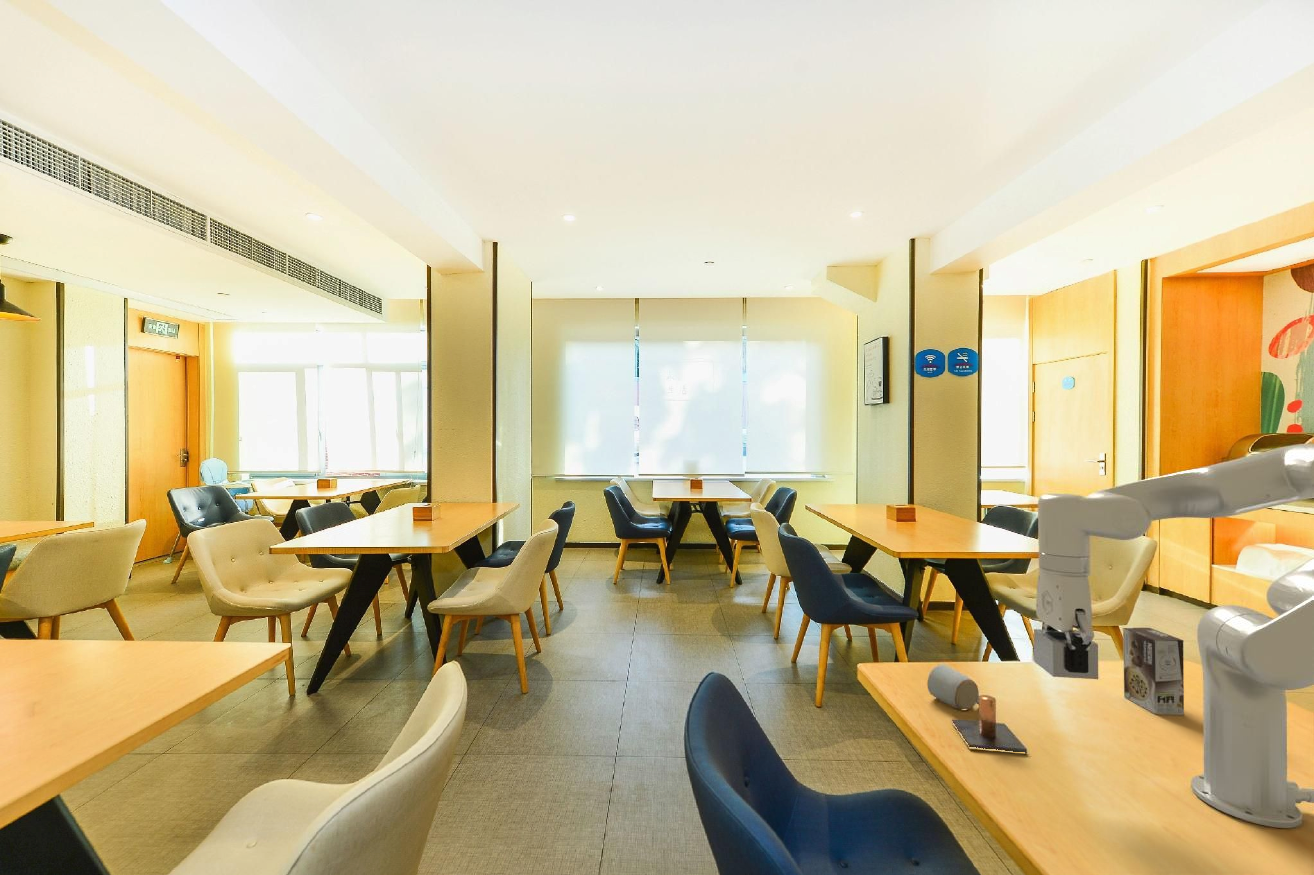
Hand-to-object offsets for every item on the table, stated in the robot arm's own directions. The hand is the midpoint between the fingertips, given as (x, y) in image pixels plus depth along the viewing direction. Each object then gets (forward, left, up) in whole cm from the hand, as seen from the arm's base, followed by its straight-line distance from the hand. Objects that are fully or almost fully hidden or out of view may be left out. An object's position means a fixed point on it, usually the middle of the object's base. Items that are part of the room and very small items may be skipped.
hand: (1065, 662), depth 103 cm
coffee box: (-33, -32, -20) cm, 50 cm away
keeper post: (+9, -10, -19) cm, 24 cm away
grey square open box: (0, 0, -1) cm, 1 cm away
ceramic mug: (+10, -26, -20) cm, 34 cm away
